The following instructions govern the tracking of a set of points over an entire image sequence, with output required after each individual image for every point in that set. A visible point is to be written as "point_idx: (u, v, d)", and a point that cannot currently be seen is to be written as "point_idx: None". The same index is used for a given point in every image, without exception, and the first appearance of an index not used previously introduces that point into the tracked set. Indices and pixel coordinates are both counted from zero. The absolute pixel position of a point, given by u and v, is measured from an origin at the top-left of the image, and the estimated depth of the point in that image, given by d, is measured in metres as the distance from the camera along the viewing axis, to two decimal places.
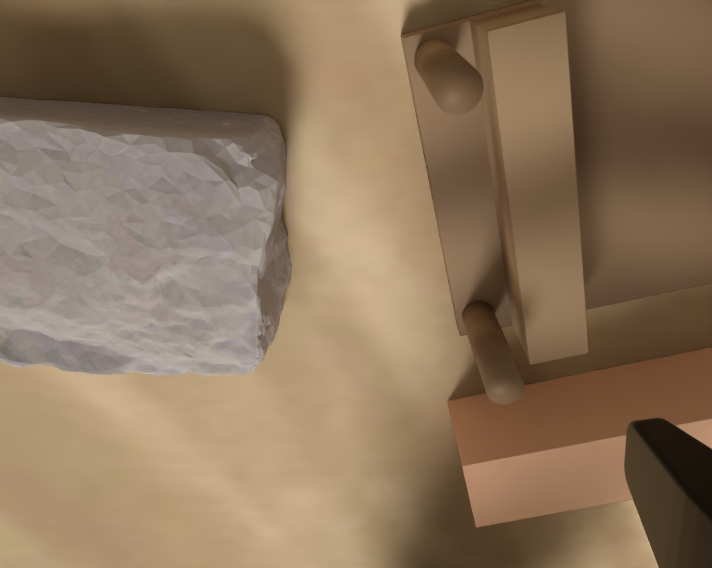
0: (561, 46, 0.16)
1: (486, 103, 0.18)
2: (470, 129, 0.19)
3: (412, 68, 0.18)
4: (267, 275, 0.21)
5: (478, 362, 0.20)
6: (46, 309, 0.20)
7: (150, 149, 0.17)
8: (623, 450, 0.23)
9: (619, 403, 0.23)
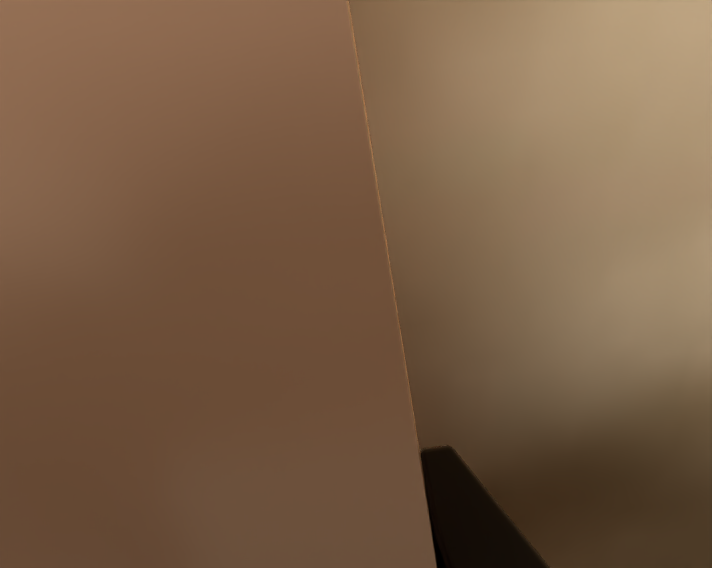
0: None
1: None
2: None
3: None
4: None
5: None
6: None
7: None
8: None
9: None
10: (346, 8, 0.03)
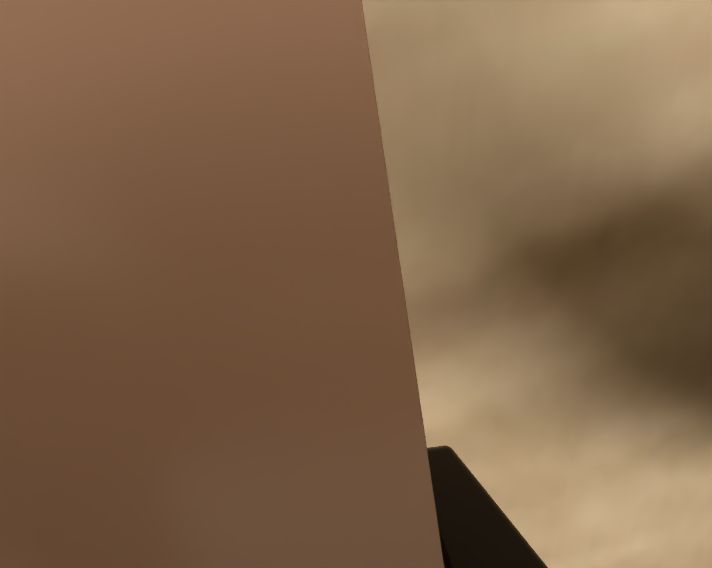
0: None
1: None
2: None
3: None
4: None
5: None
6: None
7: None
8: None
9: None
10: (360, 2, 0.03)
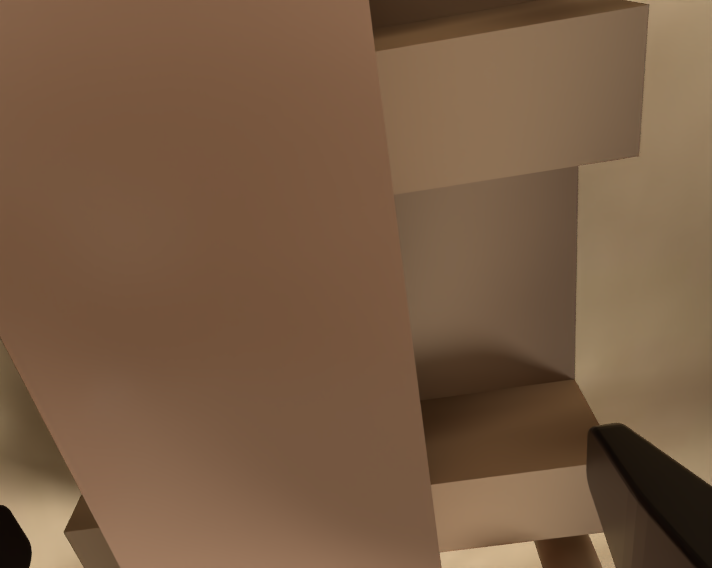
0: None
1: None
2: None
3: None
4: None
5: None
6: None
7: None
8: None
9: None
10: None
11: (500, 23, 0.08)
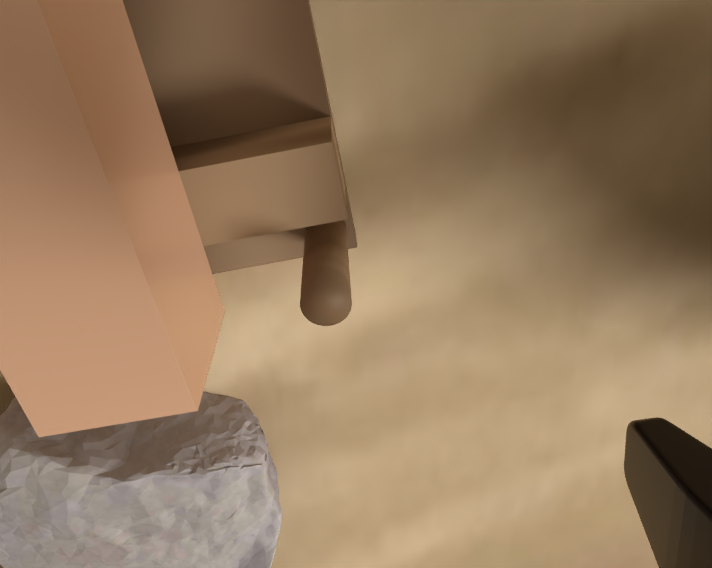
0: None
1: None
2: None
3: None
4: (143, 440, 0.20)
5: None
6: None
7: None
8: None
9: None
10: None
11: None
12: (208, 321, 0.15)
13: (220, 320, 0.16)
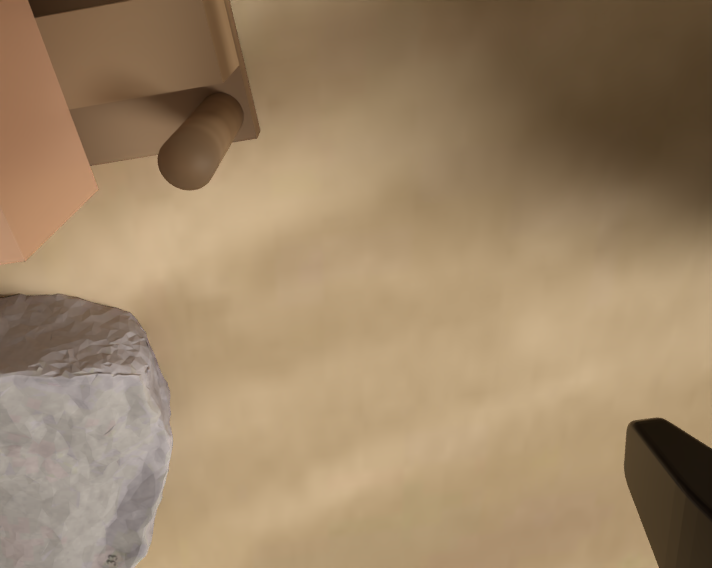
0: None
1: None
2: None
3: None
4: (12, 342, 0.19)
5: None
6: (58, 526, 0.22)
7: None
8: None
9: None
10: None
11: None
12: (64, 185, 0.14)
13: (88, 193, 0.15)
